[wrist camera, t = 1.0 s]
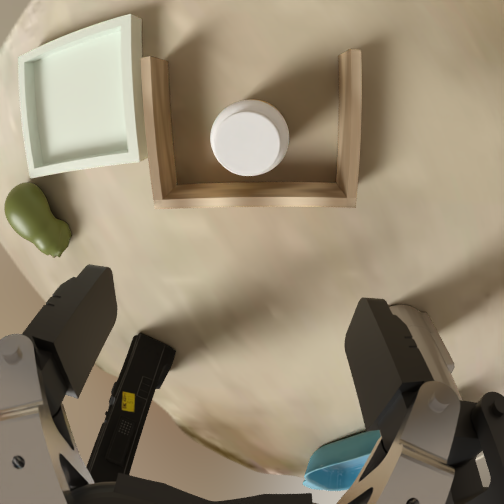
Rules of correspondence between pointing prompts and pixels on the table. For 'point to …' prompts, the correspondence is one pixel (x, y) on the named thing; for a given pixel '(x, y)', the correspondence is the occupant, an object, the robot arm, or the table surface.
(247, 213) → the table surface
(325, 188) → the frame
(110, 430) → the portable radio
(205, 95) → the table surface
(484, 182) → the table surface
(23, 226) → the pear
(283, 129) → the supplement bottle
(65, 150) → the plastic tray
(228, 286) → the table surface
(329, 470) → the casserole dish
